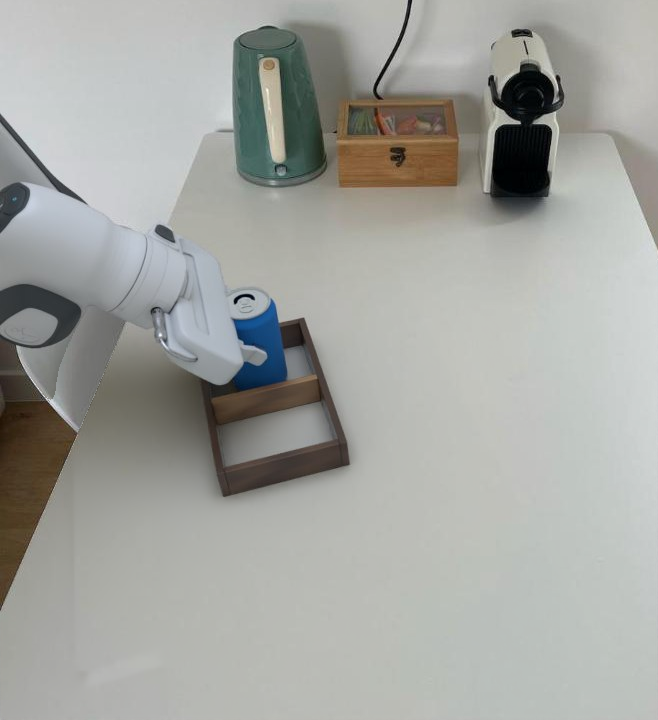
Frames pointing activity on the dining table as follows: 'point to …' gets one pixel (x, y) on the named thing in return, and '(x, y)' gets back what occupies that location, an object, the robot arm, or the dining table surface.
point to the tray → (270, 401)
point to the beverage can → (257, 336)
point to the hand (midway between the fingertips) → (257, 335)
